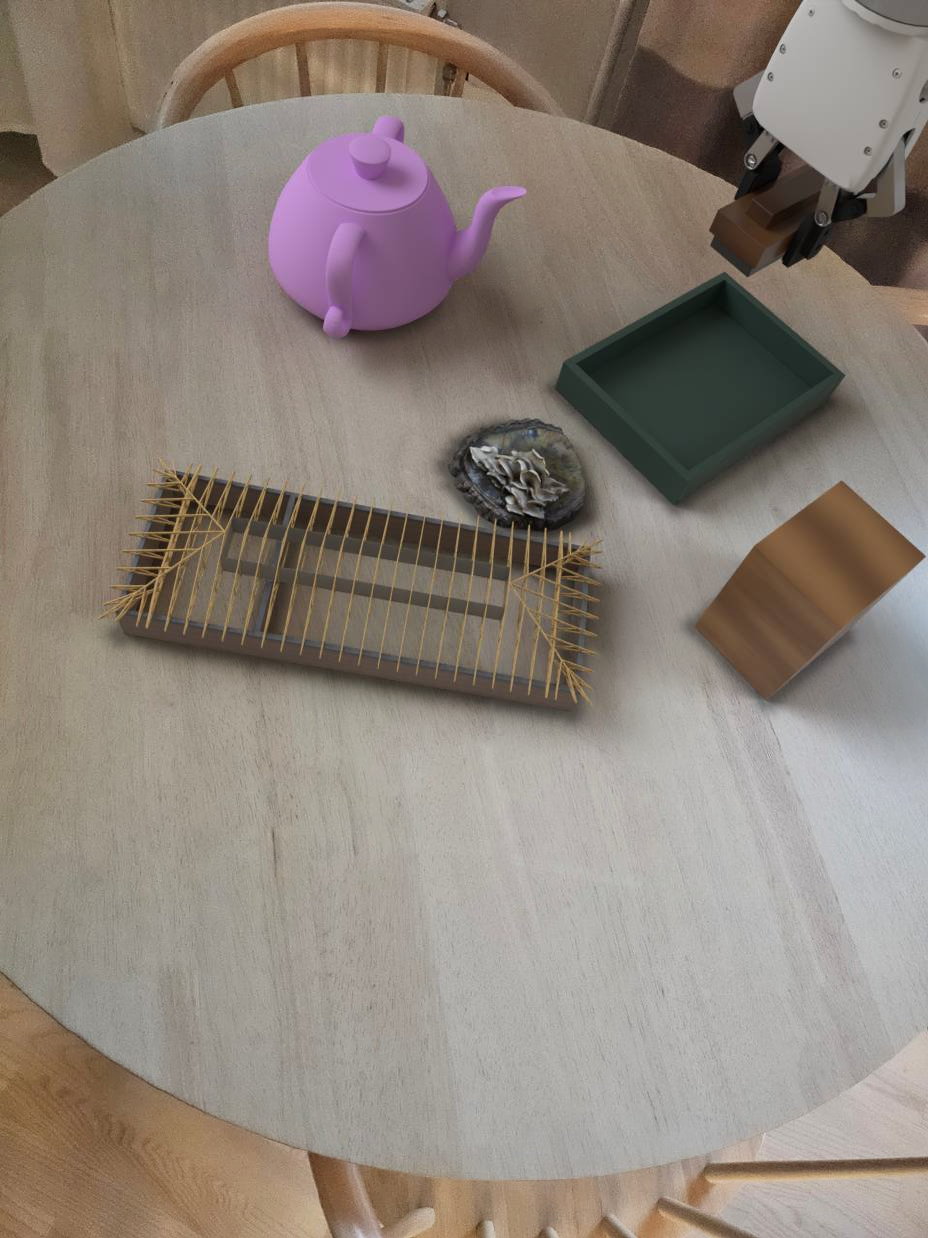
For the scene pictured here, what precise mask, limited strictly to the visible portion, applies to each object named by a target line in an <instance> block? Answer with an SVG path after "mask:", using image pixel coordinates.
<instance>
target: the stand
mask: <svg viewBox="0 0 928 1238" xmlns="http://www.w3.org/2000/svg"><path fill="white" fill-rule="evenodd" d="M926 557H927V556H926V554H924V553H923V551H921V550H920V549H918V547H916V546H915V544H913V542H911V541H910V540H909V539H907V538H906V536H904V535H903V534H902V533H901V532H900V531H899V530H897V528H895V526H893V525H892V524H891V523H890V522H889V521H888V520H886V519H885V517H883V515H881V514H880V513H879V512H878V511H877V510H876V509H874V508H873V507H872V506H871V505H870V504H869V503H868V502H867V501H866V500H864V498H862V496H860V495H859V494H858V493H857V492H856V491H855V490H853V488H851V487H850V486H849V485H848V484H847V483H845V481H843V480H840V481H839V482H837V483H836V484H834V485H833V486H832V487H830V488H829V489H827V490H826V491H825V492H824V493H823V494H821V495H819V496H818V497H817V498H816V499H814V500H813V501H812V502H810V503H809V504H808V505H806V506H805V507H804V508H803V509H801V510H800V511H799V512H797V513H795V515H793V516H792V517H791V518H788V520H786V521H785V522H784V523H783V524H781V525H780V526H778V527H777V528H776V529H774V530H773V531H771V532H770V533H769V534H768V535H766V536H765V537H764V538H763V539H761V540H760V541H758V542H757V543H756V544H754V545H753V547H752V548H751V549H750V551H748V553H747V555H746V556H745V558H744V559H743V560H742V562H741V563H740V564H739V565H738V567H737V568H736V570H734V572H733V573H732V574H731V576H730V578H729V579H728V580H727V581H726V583H725V584H724V586H723V587H722V588H721V590H720V591H719V592H718V593H717V595H716V596H715V597H714V599H713V601H712V602H711V603H710V604H709V606H708V607H707V608H706V610H705V611H704V612H703V614H702V615H701V616H700V618H699V619H698V620H697V622H696V623H695V624H694V628H695V629H696V630H697V631H698V632H699V633H700V634H701V635H702V636H703V637H704V638H705V639H706V641H708V642H709V643H710V644H711V645H712V647H714V649H716V651H718V652H719V654H721V656H723V658H724V659H725V660H726V661H727V662H728V663H729V664H730V665H731V666H732V667H733V668H734V669H735V670H736V671H737V672H738V673H739V674H740V675H741V676H742V677H743V678H744V679H745V681H747V682H748V683H749V684H750V685H751V686H752V688H753V689H754V690H755V691H756V692H757V693H759V694H760V696H762V698H764V700H766V701H768V700H769V699H770V698H771V697H772V696H774V695H775V694H777V693H778V691H780V690H781V689H782V688H784V686H786V685H787V684H788V683H789V682H790V681H791V680H793V679H794V678H795V677H796V676H797V675H798V674H800V673H801V672H802V671H803V670H804V669H806V668H807V667H808V666H809V665H810V664H811V663H812V662H814V661H815V660H816V659H817V658H818V657H819V656H821V655H822V654H823V653H824V652H825V651H826V650H828V649H829V648H830V647H831V646H832V645H833V644H834V643H836V642H837V641H838V640H839V639H840V638H842V637H843V636H844V635H845V634H847V632H848V631H849V630H850V629H851V628H852V627H853V626H855V625H856V624H857V623H858V622H859V621H860V620H861V619H862V618H863V617H864V616H865V615H866V614H867V613H868V612H869V611H870V610H872V609H873V608H874V606H876V605H877V604H878V603H879V602H880V601H881V600H882V599H884V597H885V596H886V595H887V594H888V593H889V592H891V590H893V589H894V588H895V587H896V586H897V585H898V584H899V583H900V582H901V581H902V580H903V579H904V578H905V577H907V575H908V574H910V572H912V571H913V570H914V569H915V568H916V567H917V566H918V565H919V564H920V563H921V562H922V561H923V560H924V559H925V558H926Z"/></svg>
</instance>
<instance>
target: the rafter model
mask: <svg viewBox="0 0 928 1238" xmlns="http://www.w3.org/2000/svg"><path fill="white" fill-rule="evenodd" d="M156 459H157V460H158V461H159V462H160V464H161V465H162V467H163V468H164V469H165V470H164V471H163V470H160V469H157V468H155V467H152V471H154V472H155V473H157V474H158V475H160V476H161V477H162V478H161V481H160V482H147V483H146V486H147V487H152V488H158V489H157V492H156V495H155V498H144V499H141V498H140V501H141V503H145V504H151V505H152V506H151V509H150V511H149V515H134V519H136V520H137V519H138V520H143V521H146V523H145V526H144V529H143V532H141V531H140V532H128V535H129V536H131V537H137V538H140V540H139V543H138V545H137V549H122V553H124V554H130V555H134V557H133V559H132V562H131V565H130V566H127V567H126V566H125V567H115V570H116V571H119V572H124V573H125V572H126V573H128V574H127V576H126V579H125V582H124V585H122V584H121V585H119V584H118V585H117V584H116V585H108V587H109V589H113V590H120V591H121V594H120V596H119V597H117V598H114V599H112V600H110V601H106V602H103V604H102V605H103V607H107V606H111V605H112V606H113V605H115V606H113V607H112V608H110V609H109V610H107V611H106V612H104V613H103V614H101V615H100V616H99V617H97V620H98V621H100V620H102V619H105V618H107V617H108V616H110V615H112V614H114V613H115V615H116V618H115V619H114V621H113V622H114V623H115V624H117V623H119V626H120V629H121V631H122V634H124V635H132V636H137V637H142V638H148V639H153V640H154V639H155V640H159V641H166V642H172V643H178V644H184V645H189V646H194V647H200V648H205V649H211V650H216V651H217V650H218V651H222V652H230V653H235V654H241V655H245V656H251V657H258V658H264V659H269V660H275V661H281V662H287V663H293V664H297V665H298V664H299V665H304V666H309V667H316V668H322V669H326V670H333V671H339V672H343V673H349V674H356V675H360V676H361V675H362V676H367V677H372V678H378V679H383V680H384V679H385V680H390V681H396V682H401V683H406V684H407V683H408V684H412V685H413V684H414V685H419V686H424V687H431V688H435V689H441V690H447V691H451V692H452V691H453V692H458V693H465V694H470V695H476V696H481V697H488V698H494V699H499V700H506V701H510V702H516V703H523V704H527V705H533V706H539V707H545V708H551V709H556V710H561V711H568V712H571V710H572V708H573V706H574V705H575V704H577V703H578V698H579V697H580V695H581V696H582V697H583V698H584V699H585V701H586V702H587V703H588V704H589V706H590V707H593V705H594V704H593V702H592V701H591V699H590V698H589V696H588V695H587V694H586V692H585V691H584V689H583V688H586V689H587V690H589V691H590V692H592V693H593V692H594V688H592V687H591V686H590V685H589V684H588V683H586V682H585V680H583V679H582V678H583V673H589V674H595V672H596V671H595V670H593V669H590V668H588V667H585V666H584V665H583V664H584V654H588V655H593V656H596V655H597V652H595V651H592V650H589V649H587V648H585V638H586V637H585V636H588V637H593V638H597V637H598V634H597V633H593V632H591V631H588V630H586V624H587V619H592V620H599V616H596V615H594V614H591V613H589V612H587V610H588V609H587V608H588V601H590V602H594V603H599V602H600V599H598V598H595V597H593V596H590V595H589V585H595V586H601V584H602V583H601V582H598V581H596V580H594V579H591V578H590V569H591V568H592V569H593V568H594V569H599V570H601V569H602V568H603V566H601V565H599V564H597V563H595V562H591V556H593V555H598V554H603V552H604V551H603V550H592V548H593V547H595V546H597V545H598V544H600V543H602V542H603V541H604V538H601V539H599V540H597V541H594V542H592V543H590V544H589V545H585V544H586V543H587V541H588V539H589V538H590V536H589V535H588V536H587V537H586V538H585V539H584V540H583V542H582V543H581V544H580V545H579V544H574V543H572V534H571V533H572V532H569V533H568V541H567V542H565V541H564V539H563V538H564V537H563V536H564V535H563V530H560V532H559V540H553V539H548V538H547V531H546V528H545V531H544V533H543V537H537V536H532V535H530V534H531V530H530V525H529V527H528V529H527V535H526V534H521V533H515V532H514V528H513V524H514V522H512V528H510V529H511V531H506V530H505V531H504V530H499V529H497V525H496V519H495V524H494V523H493V528H488V527H484V526H483V527H482V526H479V521H480V514H478V515H477V520H476V525H473V524H467V523H462V522H461V521H462V515H463V512H462V511H461V512H460V516H459V522H455V521H451V520H445V519H444V517H445V508H443V511H442V516H441V519H440V518H434V517H429V516H427V509H428V505H426V506H425V512H424V516H423V515H419V514H418V515H416V514H412V513H409V509H410V505H411V503H410V502H408V506H407V510H406V512H401V511H397V510H391V509H392V505H393V499H391V501H390V505H389V509H385V508H380V507H374V505H375V499H376V496H375V495H374V496H373V499H372V504H371V506H369V505H364V504H359V503H357V499H358V492H356V494H355V497H354V501H353V503H352V502H347V501H342V500H339V497H340V493H341V489H339V490H338V492H337V494H336V498H335V499H331V498H325V497H321V496H322V492H323V486H321V487H320V490H319V493H318V495H317V496H314V495H310V494H304V490H305V486H306V483H305V482H304V483H303V484H302V487H301V490H300V493H298V492H293V491H287V490H286V488H287V484H288V479H285V482H284V484H283V486H282V489H276V488H272V487H268V485H269V481H270V478H271V477H270V476H268V477H267V479H266V482H265V484H264V486H261V485H255V484H251V480H252V476H253V473H252V472H250V474H249V476H248V478H247V481H246V482H245V483H244V482H240V481H239V482H238V481H233V480H234V477H235V473H236V470H235V469H234V470H233V471H232V473H231V475H230V477H229V479H222V478H218V477H217V474H218V471H219V466H216V468H215V470H214V472H213V474H212V476H207V475H201V471H202V467H203V464H202V463H199V464H198V467H197V468H196V471H195V472H194V473H191V470H192V468H193V464H194V463H193V462H192V461H191V462H190V464H189V466H188V468H187V469H186V471H185V472H184V471H180V470H179V471H178V470H176V468H175V462H174V459H173V458H171V462H172V467H173V469H170V467H168V466H167V464H166V463H165V462H163V460H162V459H161V458H160V457H159V456H158V455H156ZM175 501H180V503H181V505H178V504H175V503H174V502H175ZM190 503H196V504H198V506H197V509H196V512H195V513H194V514H193V513H192V514H188V513H187V512H188V510H189V506H190ZM207 505H208V506H214V511H213V513H212V514H211V513H210V512H209V511H208V510H207V509H206V507H207ZM172 508H173V509H179V512H178V514H170V512H171V510H172ZM224 509H231V510H233V511H232V513H231V516H230V518H229V521H228V523H227V525H226V527H225V529H224V528H223V527H222V526H221V524H220V522H221V518H222V515H223V512H224ZM217 510H218V511H217ZM216 512H217V519H216ZM242 512H247V513H252V514H251V517H250V519H248V518H243V517H241V513H242ZM234 515H235V516H234ZM260 515H262V516H269V517H270V520H269V522H264V521H259V517H260ZM186 517H187V518H188V517H190V518H191V517H193V521H192V524H191V528H190V530H189V531H182V528H183V525H184V522H185V518H186ZM203 517H210V522H209V526H208V528H207V530H200V527H201V523H202V520H203ZM168 518H175V522H174V521H171V520H168ZM253 518H254V519H253ZM279 518H280V519H282V520H283V521H282V525H281V524H277V522H278V521H277V520H278V519H279ZM213 522H214V528H215V529H212V530H211V528H212V527H211V526H212V525H213ZM195 523H197V526H196V527H195ZM296 523H301V524H307V528H306V529H302V528H297V527H296ZM166 525H169V526H174V527H173V530H172V531H165V527H166ZM314 526H318V527H324V528H326V530H325V533H324V532H319V531H313V528H314ZM194 527H195V528H194ZM218 529H221V530H218ZM332 529H335V530H340V531H344V532H345V533H344V535H343V536H341V535H335V534H331V531H332ZM235 533H237V534H242V535H243V537H242V541H241V547H240V552H239V557H238V558H233V557H229V553H230V550H231V547H232V543H233V541H234V537H235ZM350 533H357V534H361V535H362V534H363V536H362V537H363V538H362V539H357V538H352V537H349V534H350ZM187 534H188V537H187V540H186V542H185V546H184V548H176V545H177V542H178V540H179V537H180V535H187ZM193 534H195V535H194V538H193V540H192V544H191V537H192V535H193ZM198 534H206V535H205V538H204V542H203V545H201V546H200V547H198V548H194V545H195V542H196V540H197V536H198ZM211 534H213V537H212V538H211V539H210V540H209V536H210V535H211ZM217 534H218V535H217ZM163 535H169V537H170V539H168V538H165V537H162V536H163ZM221 536H222V542H221V546H220V550H219V555H218V561H217V565H216V569H215V574H214V579H213V582H212V583H213V584H212V588H211V593H210V598H209V603H208V607H207V611H206V617H205V621H204V622H202V621H196V620H190V618H191V616H192V612H193V610H194V606H195V602H196V600H197V596H198V593H199V590H200V586H201V583H202V580H203V577H204V575H205V571H206V567H207V564H208V562H209V559H210V554H211V551H212V548H213V544H214V541H216V540H217V539H218V538H220V537H221ZM248 536H251V537H250V541H249V543H248V547H247V551H246V555H245V557H244V559H241V558H242V556H243V551H244V548H245V545H246V541H247V537H248ZM367 536H373V537H379V538H382V539H381V543H380V542H374V541H370V540H369V541H368V540H367ZM254 537H259V538H262V541H261V547H260V551H259V556H258V561H257V562H256V561H251V560H248V556H249V552H250V549H251V545H252V541H253V538H254ZM267 539H269V541H268V546H267V548H266V553H265V556H264V560H263V563H261V558H262V555H263V552H264V548H265V545H266V541H267ZM385 539H389V540H393V541H400V544H399V546H396V545H392V544H391V545H390V544H385ZM272 540H275V541H277V543H276V546H275V550H274V555H273V557H272V562H271V564H267V563H266V560H267V557H268V553H269V551H270V547H271V544H272V543H271V542H272ZM161 542H166V543H168V544H167V548H159V545H160V543H161ZM403 542H406V543H412V544H417V545H418V549H412V548H407V547H403ZM291 543H292V544H297V545H300V550H299V555H298V561H297V566H296V569H295V568H289V567H285V565H286V562H287V558H288V553H289V551H290V548H291V547H290V546H291ZM190 545H191V547H190ZM208 545H210V547H209V550H208ZM421 545H422V546H427V547H433V548H434V547H435V548H436V553H434V552H430V551H424V550H420V548H421ZM305 546H306V548H305ZM309 547H314V548H319V555H318V560H317V565H316V570H315V572H311V571H307V570H306V571H305V570H303V569H304V564H305V560H306V556H307V552H308V548H309ZM304 548H305V551H304ZM439 549H443V550H449V551H454V554H453V556H451V555H445V554H441V553H440V554H439ZM204 550H205V553H204ZM327 550H331V551H336V552H339V553H338V559H337V563H336V564H337V565H336V569H335V574H334V576H333V575H329V574H323V573H322V570H323V569H322V568H323V565H324V561H325V556H326V551H327ZM199 551H200V555H199V559H198V563H197V569H196V573H195V578H194V582H193V587H192V590H191V596H190V600H189V605H188V609H187V614H186V619H185V618H180V617H179V618H178V617H175V616H174V617H173V616H172V614H173V612H174V608H175V605H176V601H177V599H178V595H179V592H180V589H181V586H182V582H183V580H184V576H185V574H186V570H187V566H188V564H189V562H190V558H191V557H192V556H194V555H195V554H197V553H198V552H199ZM303 551H304V556H303V559H302V555H303ZM157 552H163V553H164V556H162V555H159V554H156V553H157ZM174 552H182V554H181V558H180V561H178V562H177V563H175V564H174V565H173V566H170V563H171V561H172V558H173V554H174ZM457 552H460V553H467V554H471V559H469V558H468V559H467V558H463V557H457V554H458V553H457ZM203 553H204V556H203ZM345 553H347V554H348V553H349V554H353V555H358V557H357V562H356V568H355V572H354V573H355V574H354V578H353V579H351V578H344V577H340V575H341V574H340V573H341V570H342V566H343V565H342V564H343V560H344V556H345ZM185 554H186V555H185ZM476 555H477V556H481V557H488V558H489V562H483V561H479V560H476ZM363 556H364V557H369V558H375V559H377V560H376V565H375V570H374V571H375V572H374V577H373V582H366V581H361V580H359V574H360V571H361V563H362V560H363ZM155 559H158V560H162V563H161V566H153V563H154V560H155ZM321 559H322V560H321ZM494 559H498V560H504V561H507V563H506V565H499V564H496V563H495V564H494ZM301 560H302V562H301ZM381 560H386V561H392V562H396V563H395V569H394V574H393V581H392V586H390V585H385V584H378V583H377V580H378V574H379V568H380V563H381ZM201 562H202V563H201ZM512 562H515V563H521V564H523V573H522V576H521V577H519V578H517V579H514V580H512V581H511V579H512V578H511V577H512ZM183 563H184V565H182V564H183ZM300 563H302V564H301V566H300ZM320 563H321V564H320ZM399 563H403V564H408V565H412V566H414V571H413V577H412V584H411V589H405V588H401V587H396V586H395V584H396V578H397V573H398V567H399ZM201 564H202V569H201V570H199V569H200V565H201ZM529 565H530V566H537V567H540V568H538V569H535V570H534V571H531V572H529V569H530V567H529ZM417 566H419V567H423V568H424V567H425V568H429V569H433V570H432V576H431V580H430V581H431V582H430V588H429V593H428V592H422V591H417V590H413V588H414V587H413V586H414V581H415V577H416V571H417ZM176 567H177V571H176V576H175V579H174V584H173V588H172V594H171V598H170V603H169V607H168V611H167V615H161V614H155V613H154V612H155V608H156V606H157V603H158V600H159V596H160V595H161V594H160V593H161V592H162V591H161V590H162V588H163V585H164V582H165V579H166V575H167V574H168V573H169V572H170V571H172V570H173V569H175V568H176ZM219 567H220V573H219V574H218V571H219ZM299 567H300V569H299ZM546 568H549V569H553V570H556V573H555V574H556V575H555V581H553V580H551V579H549V578H546V577H545V575H546ZM182 569H183V572H181V570H182ZM151 570H157V572H158V574H157V573H154V572H152V571H151ZM436 570H440V571H441V570H442V571H446V572H451V573H450V578H449V579H450V580H449V587H448V592H447V596H445V595H440V594H434V593H432V590H433V585H434V579H435V575H436V574H435V573H436ZM150 571H151V572H150ZM539 571H540V573H539V575H538V574H536V573H538V572H539ZM564 571H565V572H567V573H570V574H572V575H562V574H563V573H564ZM224 572H226V573H231V574H235V575H234V580H233V585H232V589H231V594H230V599H229V604H228V607H227V613H226V616H225V622H224V625H219V624H213V623H209V621H210V617H211V614H212V611H213V608H214V604H215V601H216V597H217V593H218V591H219V588H220V583H221V581H222V577H223V573H224ZM181 573H182V574H181ZM455 573H458V574H463V575H468V581H467V589H466V596H465V599H461V598H457V597H451V592H452V587H453V581H454V577H455V576H454V574H455ZM238 575H239V576H238ZM243 575H244V576H248V577H254V580H253V585H252V591H251V595H250V600H249V605H248V610H247V615H246V619H245V622H244V623H245V624H244V628H242V629H241V628H236V627H232V626H231V627H230V626H229V622H230V618H231V615H232V611H233V609H234V605H235V601H236V597H237V594H238V591H239V587H240V583H241V581H242V577H243ZM237 576H238V578H237ZM529 576H533V577H535V578H538V579H539V581H538V582H539V583H538V592H536V591H533V590H531V589H528V578H529ZM148 577H153V578H154V579H152V580H151V581H149V582H148V583H147V580H148ZM199 577H200V578H199ZM474 577H480V578H485V579H486V584H485V585H486V586H485V592H484V599H483V602H480V601H479V602H478V601H474V600H473V601H472V600H470V595H471V590H472V584H473V579H474ZM198 578H199V582H198ZM257 578H258V579H257ZM178 579H180V580H179V582H178ZM261 579H265V580H266V584H265V587H264V591H263V595H262V599H261V601H260V605H259V610H258V613H257V618H256V621H255V625H254V629H253V630H248V628H249V623H250V619H251V616H252V612H253V609H254V605H255V601H256V597H257V594H258V591H259V586H260V583H261V581H262V580H261ZM561 579H562V580H568V581H574V587H573V588H571V587H568V586H565V585H563V584H561ZM492 580H495V581H502V582H504V587H503V595H502V604H501V605H495V604H489V598H490V592H491V587H492V586H491V585H492ZM521 580H522V581H521ZM217 581H218V582H217ZM518 581H521V585H518V584H515V583H516V582H518ZM216 582H217V583H216ZM281 582H282V583H288V584H293V585H292V591H291V596H290V600H289V605H288V611H287V616H286V621H285V626H284V631H283V634H276V633H272V632H268V631H269V628H270V623H271V619H272V615H273V611H274V608H275V605H276V604H275V603H276V600H277V596H278V593H279V588H280V584H281ZM545 582H548V583H550V584H553V585H554V595H553V598H551V597H549V596H546V595H544V585H545ZM146 583H147V584H146ZM177 583H178V585H177ZM152 584H154V586H153V588H152V589H148V590H147V587H149V586H150V585H152ZM236 585H237V586H236ZM299 585H300V586H305V587H308V588H309V587H310V588H312V591H311V595H310V601H309V606H308V610H307V616H306V621H305V625H304V632H303V636H302V638H299V637H293V636H288V635H287V632H288V628H289V624H290V620H291V616H292V612H293V609H294V604H295V600H296V596H297V593H298V588H299ZM524 585H525V586H524ZM195 588H196V590H195ZM255 588H256V589H255ZM510 588H511V589H512V591H513V592H514V594H515V595H516V597H517V598H518V599H519V606H518V608H519V609H518V615H517V618H518V619H517V625H516V634H515V643H514V650H513V651H514V652H513V661H512V669H511V674H504V673H498V672H497V667H498V661H499V657H500V649H501V648H500V647H501V642H502V635H503V630H504V625H505V619H506V612H507V606H508V600H509V593H510ZM516 588H518V589H519V590H520V594H519V593H518V591H517V590H516ZM317 589H320V590H328V591H331V596H330V601H329V605H328V611H327V616H326V622H325V626H324V631H323V636H322V641H316V640H312V639H311V640H310V639H306V636H307V632H308V628H309V623H310V620H311V616H312V611H313V606H314V603H315V598H316V594H317ZM562 589H565V590H568V591H570V592H561V591H562ZM337 592H338V593H343V594H349V595H350V599H349V605H348V611H347V616H346V620H345V626H344V630H343V638H342V641H341V645H339V644H334V643H328V642H325V640H326V635H327V632H328V628H329V627H328V626H329V623H330V618H331V613H332V610H333V605H334V600H335V597H336V593H337ZM523 593H524V594H523ZM527 593H529V594H533V595H534V596H537V600H536V601H537V602H536V610H534V609H532V608H529V607H528V606H527V605H526V597H527ZM150 594H152V596H151V601H150V604H149V608H148V609H149V610H148V612H146V611H144V609H145V606H146V603H147V600H148V597H149V595H150ZM355 596H359V597H360V596H361V597H366V598H369V603H368V609H367V615H366V619H365V626H364V631H363V636H362V641H361V647H360V648H356V647H350V646H345V645H344V644H345V639H346V635H347V629H348V627H349V626H348V625H349V621H350V615H351V612H352V606H353V602H354V597H355ZM560 596H562V597H567V598H572V599H573V600H572V606H571V605H569V604H566V603H563V602H561V601H560ZM374 599H377V600H381V601H388V606H387V613H386V618H385V624H384V630H383V635H382V640H381V645H380V652H379V651H374V650H373V651H372V650H367V649H363V648H364V644H365V639H366V633H367V628H368V623H369V618H370V613H371V609H372V603H373V600H374ZM543 599H545V600H548V601H550V602H553V607H552V615H551V616H550V615H548V614H544V613H543V612H542V607H543ZM140 601H141V602H140ZM392 602H394V603H400V604H404V605H405V604H406V605H408V606H407V611H406V617H405V622H404V627H403V634H402V638H401V644H400V650H399V655H396V654H391V653H384V652H383V648H384V647H383V646H384V642H385V635H386V631H387V625H388V621H389V620H388V619H389V616H390V610H391V604H392ZM139 603H140V606H139ZM138 606H139V610H137V609H138ZM410 606H417V607H422V608H426V612H425V617H424V624H423V629H422V636H421V641H420V647H419V653H418V658H415V657H414V658H413V657H407V656H402V655H401V654H402V649H403V643H404V638H405V633H406V627H407V621H408V617H409V610H410ZM561 606H563V607H566V608H568V609H560V607H561ZM429 609H433V610H438V611H444V617H443V624H442V630H441V637H440V642H439V649H438V656H437V662H435V661H430V660H423V659H421V654H422V649H423V642H424V641H423V640H424V637H425V630H426V625H427V619H428V612H429ZM525 610H526V612H527V613H528V615H530V617H531V619H532V620H533V622H534V629H533V630H534V632H533V641H532V642H533V643H532V651H531V662H530V671H529V678H527V677H523V676H516V675H515V671H516V664H517V658H518V651H519V646H520V645H519V644H520V639H521V633H522V626H523V621H524V614H525ZM448 612H449V613H456V614H461V615H463V616H462V624H461V630H460V636H459V637H460V638H459V644H458V650H457V659H456V665H453V664H447V663H441V662H440V656H441V652H442V646H443V639H444V634H445V627H446V623H447V618H448V617H447V616H448ZM533 613H534V614H535V617H534V615H533ZM558 613H559V614H565V615H570V616H571V623H568V622H565V621H562V620H560V619H558ZM467 616H472V617H476V618H477V617H478V618H481V620H480V621H481V622H480V630H479V637H478V645H477V651H476V652H477V653H476V660H475V667H474V668H471V667H466V666H465V667H464V666H459V660H460V656H461V655H460V654H461V649H462V643H463V637H464V631H465V625H466V620H467ZM541 616H542V617H544V618H547V619H549V620H551V626H550V627H551V629H550V634H547V633H545V632H544V630H543V628H542V627H541V626H540V625H541V618H542V617H541ZM486 619H489V620H495V621H499V626H498V627H499V628H498V637H497V642H496V643H497V644H496V645H497V646H496V650H495V651H496V652H495V661H494V668H493V671H487V670H482V669H478V664H479V657H480V652H481V646H482V639H483V634H484V628H485V623H486ZM559 623H560V624H562V625H564V626H567V627H558V625H559ZM557 631H559V632H560V631H561V632H566V633H570V636H569V637H570V638H569V641H565V640H563V639H561V638H558V637H556V635H557ZM540 632H541V633H542V635H543V636H544V638H545V639H546V641H547V643H548V644H549V650H548V658H547V659H548V660H547V671H546V680H545V681H544V680H539V679H533V675H534V668H535V661H536V653H537V647H538V642H539V636H540V635H539V634H540ZM549 638H550V639H549ZM557 642H560V643H563V644H566V645H556V644H557ZM557 649H559V650H564V651H568V660H566V659H564V658H562V657H561V655H560V654H559V652H558V651H557ZM556 656H557V658H558V659H559V660H560V662H558V661H557V660H556V659H555V657H556ZM553 664H555V666H556V667H557V670H556V682H551V676H552V670H553ZM561 672H562V674H563V675H564V678H565V680H566V684H562V683H560V680H561V679H560V677H561ZM582 687H583V688H582Z"/></svg>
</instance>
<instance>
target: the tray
mask: <svg viewBox="0 0 928 1238" xmlns="http://www.w3.org/2000/svg"><path fill="white" fill-rule="evenodd" d="M845 377H846V373H844V372H843V371H842V370H841V369H839V368H838V367H837V366H836V365H835V364H834V363H832V362H831V361H830V360H829V359H827V357H825V356H824V355H823V354H822V353H821V352H819V351H818V350H817V349H815V347H814V346H812V345H811V343H809V342H808V341H806V339H804V338H803V337H802V336H801V335H800V334H798V333H797V332H796V331H794V329H793V328H791V327H790V326H789V325H788V324H787V323H786V322H784V321H783V320H782V319H781V318H780V317H779V316H778V315H776V314H775V313H774V312H773V311H772V310H770V309H769V308H768V307H767V306H766V305H765V304H764V303H762V302H761V301H760V300H759V299H758V298H756V297H755V295H753V294H752V293H751V292H749V290H747V289H746V288H745V287H744V286H743V285H742V284H740V283H739V282H738V281H736V280H735V279H734V278H733V277H732V276H731V275H729V274H728V273H727V272H726V271H722V272H721V273H720V274H717V275H715V276H714V277H712V278H710V279H709V280H707V281H704V282H703V283H701V284H699V285H698V286H695V287H694V288H692V289H691V290H689V291H687V292H685V293H683V294H681V295H680V296H678V297H676V298H675V299H673V300H671V301H669V302H667V303H665V304H663V305H661V306H660V307H659V308H657V309H655V310H653V311H651V312H649V313H648V314H646V315H644V316H643V317H641V318H639V319H637V320H635V321H633V322H631V323H629V324H628V325H626V326H624V327H622V328H621V329H619V330H617V331H615V332H613V333H611V334H610V335H608V336H607V337H604V338H603V339H600V340H599V341H598V342H595V343H594V344H592V345H590V346H588V347H587V348H584V349H583V350H581V351H580V352H578V353H576V354H574V355H572V356H571V357H568V358H566V359H565V360H563V362H562V365H561V368H560V371H559V374H558V377H557V381H556V384H555V386H554V389H555V390H556V391H557V392H558V394H559V395H560V396H562V397H563V398H564V399H565V400H566V401H567V402H568V403H569V404H570V405H571V406H572V407H573V408H574V409H575V410H576V411H577V412H578V413H579V414H580V415H581V416H582V417H583V418H584V419H585V420H586V421H587V422H588V423H589V424H590V425H591V426H592V427H593V428H594V429H596V430H597V432H599V434H601V436H602V437H604V439H605V440H607V442H608V443H610V444H611V445H612V446H613V447H614V448H615V449H616V451H618V452H619V453H620V454H621V455H622V456H623V457H624V458H625V459H626V460H627V461H628V462H629V463H630V464H631V465H632V466H633V467H634V468H635V469H636V470H637V471H638V472H639V473H640V474H642V476H643V477H644V478H646V479H647V481H649V483H650V484H651V485H653V487H654V488H655V489H657V490H658V491H659V492H660V493H661V494H662V495H663V496H664V497H665V498H666V499H667V500H668V501H669V502H670V503H671V504H672V505H673V506H676V505H678V504H679V503H681V502H682V501H684V500H686V499H687V498H688V497H690V496H691V495H693V494H694V493H696V492H698V490H701V488H703V487H705V486H706V485H707V484H709V483H710V482H712V481H714V479H717V478H718V477H719V476H720V475H722V474H723V473H725V472H726V471H727V470H729V469H731V468H732V467H733V466H735V465H736V464H738V463H739V462H741V461H742V460H744V459H745V458H746V457H748V456H749V455H751V454H752V453H754V452H755V451H757V450H758V449H760V448H761V447H762V446H764V445H766V444H767V443H768V442H770V441H772V440H773V439H774V438H776V437H777V436H779V435H780V434H782V433H783V432H785V431H786V430H787V429H789V428H791V427H792V426H793V425H795V424H796V423H797V422H799V421H800V420H802V419H804V418H805V417H806V416H808V415H809V414H811V413H813V412H814V411H815V410H816V409H818V408H819V407H821V406H822V405H824V404H825V403H827V402H828V401H829V400H830V398H831V397H832V396H833V394H834V393H835V391H836V390H837V388H838V387H839V385H840V384H841V383H842V381H843V380H844V378H845Z"/></svg>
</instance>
